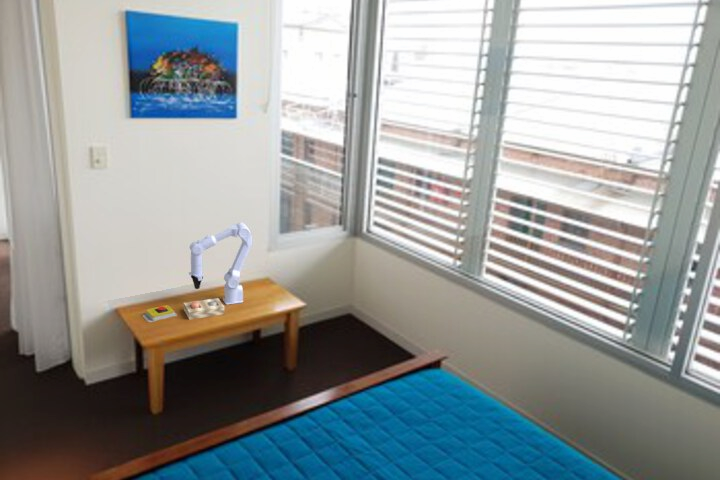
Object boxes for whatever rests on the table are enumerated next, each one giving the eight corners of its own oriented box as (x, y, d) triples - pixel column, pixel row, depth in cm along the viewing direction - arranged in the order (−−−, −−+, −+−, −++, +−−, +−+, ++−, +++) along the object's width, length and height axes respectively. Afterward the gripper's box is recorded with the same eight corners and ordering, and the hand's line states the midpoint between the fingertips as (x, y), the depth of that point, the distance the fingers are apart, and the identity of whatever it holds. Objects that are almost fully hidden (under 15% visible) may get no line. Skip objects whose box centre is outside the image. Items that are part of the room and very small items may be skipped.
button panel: (218, 304, 304) (217, 298, 302) (224, 313, 294) (224, 307, 293) (183, 309, 295) (183, 302, 294) (189, 319, 285) (189, 312, 284)
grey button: (215, 307, 299) (215, 300, 298) (217, 310, 296) (217, 303, 294) (207, 308, 297) (207, 301, 296) (209, 312, 294) (209, 305, 293)
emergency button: (177, 308, 287) (148, 315, 278) (177, 316, 289) (148, 323, 279) (170, 302, 294) (141, 308, 284) (170, 309, 295) (141, 316, 286)
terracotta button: (198, 307, 294) (198, 300, 293) (200, 311, 291) (200, 304, 290) (190, 309, 292) (190, 302, 291) (192, 312, 289) (192, 305, 288)
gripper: (185, 260, 299) (186, 284, 303) (192, 270, 287) (192, 294, 291) (199, 259, 302) (199, 282, 307) (206, 268, 290) (206, 292, 295)
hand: (197, 288), depth 299 cm, fingers closed
